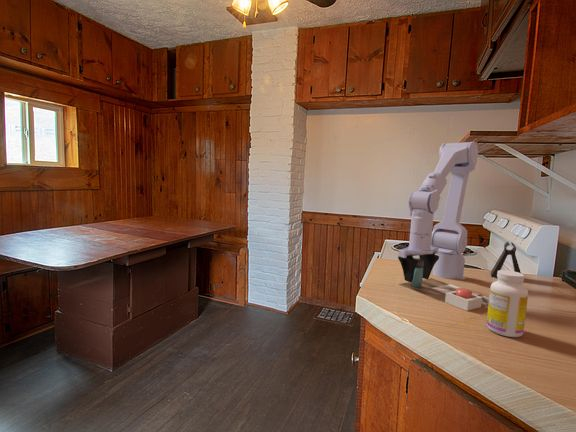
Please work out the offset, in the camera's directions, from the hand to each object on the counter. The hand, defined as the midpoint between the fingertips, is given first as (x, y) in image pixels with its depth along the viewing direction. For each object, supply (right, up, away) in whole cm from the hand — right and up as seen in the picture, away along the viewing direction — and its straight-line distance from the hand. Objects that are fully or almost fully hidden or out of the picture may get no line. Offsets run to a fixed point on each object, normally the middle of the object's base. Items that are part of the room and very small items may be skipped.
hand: (416, 279), depth 93 cm
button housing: (+7, -5, -12) cm, 15 cm away
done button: (+7, -2, -13) cm, 15 cm away
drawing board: (+7, -4, -4) cm, 9 cm away
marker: (0, -2, 0) cm, 2 cm away
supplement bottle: (+9, -7, -24) cm, 26 cm away
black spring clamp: (+37, -3, +17) cm, 41 cm away
